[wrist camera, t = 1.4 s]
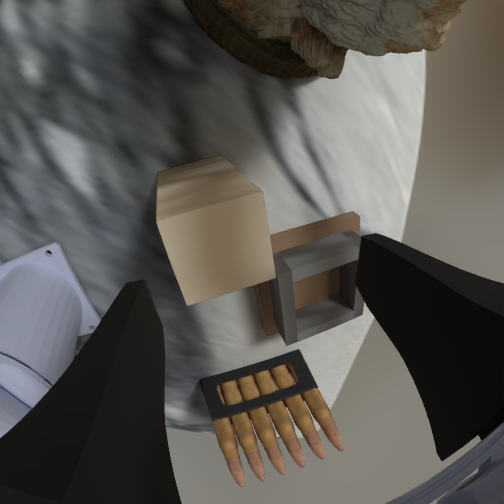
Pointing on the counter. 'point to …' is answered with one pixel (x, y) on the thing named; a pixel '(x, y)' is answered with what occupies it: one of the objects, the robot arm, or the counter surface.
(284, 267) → the socket
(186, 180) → the square peg
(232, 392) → the ammunition clip
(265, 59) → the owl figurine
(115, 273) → the counter surface
